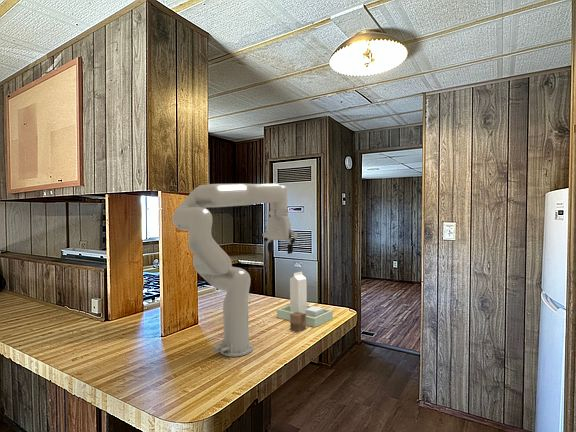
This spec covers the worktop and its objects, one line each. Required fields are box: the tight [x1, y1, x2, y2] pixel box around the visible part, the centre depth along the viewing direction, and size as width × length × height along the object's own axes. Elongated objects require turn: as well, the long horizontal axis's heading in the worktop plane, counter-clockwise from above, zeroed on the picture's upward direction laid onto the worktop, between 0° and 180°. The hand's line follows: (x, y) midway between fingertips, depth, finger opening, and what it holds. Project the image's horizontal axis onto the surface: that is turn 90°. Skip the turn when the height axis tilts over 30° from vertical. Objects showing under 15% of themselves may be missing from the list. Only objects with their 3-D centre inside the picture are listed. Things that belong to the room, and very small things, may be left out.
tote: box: [276, 304, 334, 328], centre depth 164 cm, size 15×23×4 cm, turn 50°
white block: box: [305, 305, 325, 317], centre depth 159 cm, size 7×6×6 cm
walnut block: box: [289, 311, 307, 333], centre depth 149 cm, size 5×5×7 cm
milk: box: [289, 271, 308, 313], centre depth 167 cm, size 6×6×22 cm
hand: (280, 252), depth 146 cm, fingers open, 9 cm apart
